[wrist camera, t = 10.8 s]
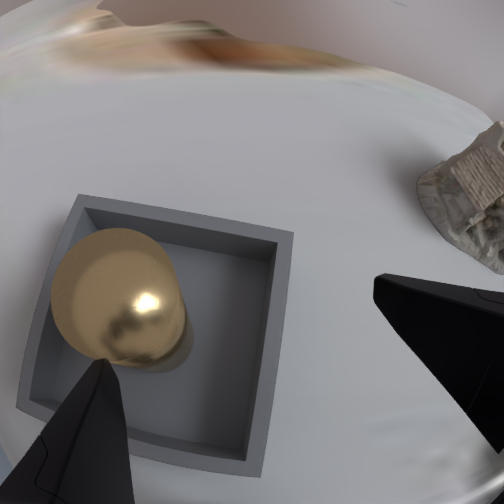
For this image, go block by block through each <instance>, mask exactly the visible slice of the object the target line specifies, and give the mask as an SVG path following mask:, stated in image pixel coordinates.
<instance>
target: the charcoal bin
mask: <svg viewBox="0 0 504 504" xmlns="http://www.w3.org/2000/svg"><path fill="white" fill-rule="evenodd" d="M111 228H125V229H131V230H135V231H138V232H141V233H143V234H145V235H147V236H149V237H150V238H152V239H153V240H154V241H156V242H157V243H158V244H159V245H160V246H161V247H162V248H163V249H164V251H165V252H166V253H167V255H168V256H169V258H170V260H171V262H172V264H173V267H174V269H175V273H176V276H177V279H178V283H179V286H180V289H181V293H182V296H183V299H184V302H185V306H186V309H187V312H188V315H189V318H190V321H191V324H192V328H193V333H194V342H193V347H192V350H191V353H190V354H189V356H188V358H187V359H186V360H185V362H184V363H183V364H181V365H180V366H179V367H177V368H176V369H174V370H171V371H169V372H164V373H153V372H148V371H143V370H138V369H134V368H129V367H125V366H120V365H116V364H112V363H110V364H111V366H112V368H113V370H114V372H115V373H116V375H117V377H118V380H119V383H120V389H121V396H122V402H123V408H124V414H125V420H126V426H127V438H128V450H129V454H132V455H136V456H139V457H143V458H147V459H151V460H155V461H159V462H163V463H167V464H172V465H176V466H181V467H186V468H191V469H197V470H203V471H209V472H215V473H222V474H230V475H238V476H247V477H258V478H260V477H261V471H262V466H263V460H264V454H265V448H266V442H267V436H268V430H269V424H270V417H271V411H272V405H273V398H274V391H275V384H276V377H277V370H278V363H279V356H280V348H281V341H282V333H283V325H284V317H285V309H286V300H287V292H288V283H289V274H290V265H291V256H292V246H293V236H294V232H290V231H285V230H280V229H275V228H270V227H265V226H260V225H254V224H249V223H244V222H239V221H234V220H228V219H223V218H218V217H212V216H207V215H201V214H196V213H190V212H185V211H179V210H173V209H168V208H162V207H156V206H150V205H144V204H138V203H132V202H126V201H120V200H114V199H108V198H102V197H95V196H89V195H82V194H78V196H77V198H76V200H75V202H74V204H73V207H72V209H71V211H70V214H69V216H68V218H67V221H66V223H65V225H64V228H63V230H62V233H61V235H60V238H59V240H58V243H57V246H56V248H55V251H54V254H53V256H52V259H51V262H50V265H49V268H48V271H47V274H46V277H45V280H44V283H43V286H42V289H41V292H40V296H39V299H38V303H37V306H36V310H35V313H34V317H33V321H32V325H31V329H30V333H29V337H28V341H27V346H26V350H25V355H24V360H23V365H22V371H21V376H20V382H19V389H18V395H17V403H16V408H17V409H19V410H21V411H23V412H25V413H27V414H29V415H31V416H33V417H35V418H37V419H39V420H42V421H44V422H46V423H48V422H49V420H50V419H51V417H52V416H53V415H54V413H55V412H56V410H57V409H58V408H59V406H60V405H61V403H62V402H63V401H64V399H65V398H66V397H67V395H68V394H69V393H70V391H71V390H72V389H73V387H74V386H75V385H76V383H77V382H78V381H79V379H80V378H81V377H82V375H83V374H84V373H85V371H86V370H87V369H88V367H89V366H90V365H91V363H92V362H93V361H94V360H96V359H93V358H90V357H88V356H85V355H83V354H82V353H80V352H78V351H77V350H76V349H74V348H73V347H72V346H71V345H70V344H69V343H68V342H67V341H66V340H65V339H64V337H63V336H62V335H61V333H60V331H59V329H58V328H57V326H56V323H55V320H54V318H53V313H52V309H51V288H52V282H53V279H54V275H55V273H56V270H57V268H58V266H59V264H60V262H61V260H62V259H63V257H64V256H65V255H66V253H67V252H68V251H69V250H70V249H71V248H72V247H73V246H74V245H75V244H76V243H77V242H79V241H80V240H82V239H83V238H85V237H86V236H88V235H90V234H92V233H95V232H97V231H101V230H104V229H111Z"/></svg>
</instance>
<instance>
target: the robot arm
mask: <svg viewBox="0 0 504 504" xmlns="http://www.w3.org/2000/svg"><path fill="white" fill-rule="evenodd" d="M373 299H374V302H375V304H376V306H377V307H378V308H379V310H380V311H381V312H382V314H383V315H384V316H385V318H386V319H387V320H388V322H389V323H390V325H391V326H392V327H393V329H394V330H395V331H396V333H397V334H398V335H399V336H400V337H401V338H402V340H403V341H404V342H405V343H406V344H407V345H408V346H409V347H410V349H411V350H412V351H413V352H414V353H415V354H416V355H417V357H418V358H419V359H420V360H421V361H422V362H423V363H424V365H425V366H426V367H427V368H428V369H429V370H430V371H431V373H432V374H433V375H434V376H435V377H436V378H437V380H438V381H439V382H440V383H441V384H442V385H443V387H444V388H445V389H446V390H447V391H448V393H449V394H450V395H451V396H452V397H453V399H454V400H455V401H456V402H457V403H458V405H459V406H460V407H461V408H462V410H463V411H464V412H465V413H466V415H467V416H468V417H469V418H470V420H471V421H472V422H473V423H474V425H475V426H476V427H477V428H478V430H479V431H480V432H481V433H482V435H483V436H484V437H485V439H486V440H487V441H488V442H489V444H490V445H491V446H492V448H493V449H494V450H495V451H496V452H497V453H498V454H500V453H501V452H502V451H503V450H504V292H496V291H489V290H482V289H476V288H473V289H472V288H470V287H464V286H458V285H452V284H446V283H440V282H435V281H429V280H423V279H417V278H411V277H405V276H399V275H393V274H387V273H384V274H381V275H379V276H376V277H375V279H374V291H373ZM0 504H135V501H134V494H133V487H132V479H131V470H130V461H129V450H128V438H127V426H126V420H125V414H124V408H123V402H122V396H121V389H120V383H119V380H118V377H117V375H116V373H115V372H114V370H113V368H112V366H111V364H110V362H109V360H108V359H107V358H101V359H96V360H94V361H93V362H92V363H91V365H90V366H89V367H88V369H87V370H86V371H85V373H84V374H83V375H82V377H81V378H80V379H79V381H78V382H77V383H76V385H75V386H74V387H73V389H72V390H71V391H70V393H69V394H68V395H67V397H66V398H65V399H64V401H63V402H62V403H61V405H60V406H59V408H58V409H57V410H56V412H55V413H54V415H53V416H52V417H51V419H50V420H49V422H48V423H47V424H46V426H45V427H44V429H43V430H42V431H41V433H40V435H39V436H38V437H37V439H36V440H35V441H34V443H33V444H32V446H31V447H30V449H29V450H28V451H27V453H26V454H25V455H24V457H23V458H22V459H21V461H20V462H19V463H18V464H17V466H16V467H15V468H14V469H13V471H12V472H11V473H10V474H9V476H8V477H7V478H6V479H5V481H4V482H3V483H2V485H1V486H0ZM487 504H504V487H503V488H502V489H501V490H500V491H499V492H498V493H497V494H496V495H495V496H494V497H493V498H492V499H491V500H490V501H489V502H488V503H487Z"/></svg>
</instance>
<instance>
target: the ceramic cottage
mask: <svg viewBox="0 0 504 504" xmlns="http://www.w3.org/2000/svg"><path fill="white" fill-rule="evenodd" d="M416 185H417V195H418V197H419V201H420V203H421V205H422V207H423V209H424V211H425V213H426V215H427V216H428V218H429V219H430V220H431V222H432V223H433V225H434V226H435V227H436V229H437V230H439V232H440V233H441V235H442V236H443V237H444V239H445V240H446V241H448V242H449V243H451V244H452V245H454V246H455V247H457V248H459V249H460V250H462V251H463V252H465V253H467V254H468V255H470V256H472V257H473V258H474V259H476V260H479V262H481V263H482V264H484V265H485V266H486V267H488V268H489V269H491V270H492V271H494V272H495V273H497V274H500V275H504V123H503V122H502V121H497V122H495V123H494V124H493V125H492V126H491V127H490V128H489V129H488V130H486V131H484V132H482V133H480V134H479V135H478V136H477V138H476V139H475V140H474V142H473V143H472V144H471V145H470V146H469V147H467V148H466V149H465V150H464V151H463V152H461V153H459V154H457V155H454V156H451V157H450V158H449V159H448V160H447V161H441V162H440V164H438V165H437V166H435V167H434V168H433V169H430V170H429V171H427V172H426V173H424V174H423V175H422V176H421V177H420V178H419V180H418V182H417V184H416Z"/></svg>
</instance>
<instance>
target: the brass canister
mask: <svg viewBox="0 0 504 504" xmlns="http://www.w3.org/2000/svg"><path fill="white" fill-rule="evenodd" d="M51 309H52V313H53V318H54V320H55V323H56V326H57V328H58V329H59V331H60V333H61V335H62V336H63V337H64V339H65V340H66V341H67V342H68V343H69V344H70V345H71V346H72V347H73V348H74V349H76V350H77V351H78V352H80V353H82V354H83V355H85V356H88V357H90V358H93V359H101V358H107V359H108V360H109V362H110V363H112V364H116V365H120V366H125V367H129V368H134V369H138V370H143V371H148V372H153V373H164V372H169V371H171V370H174V369H176V368H177V367H179V366H180V365H181V364H183V363H184V362H185V360H186V359H187V358H188V356H189V354H190V353H191V350H192V347H193V342H194V333H193V328H192V324H191V321H190V318H189V315H188V312H187V309H186V306H185V302H184V299H183V296H182V293H181V289H180V286H179V283H178V279H177V276H176V273H175V269H174V267H173V264H172V262H171V260H170V258H169V256H168V255H167V253H166V252H165V251H164V249H163V248H162V247H161V246H160V245H159V244H158V243H157V242H156V241H154V240H153V239H152V238H150V237H149V236H147V235H145V234H143V233H141V232H138V231H135V230H131V229H125V228H111V229H104V230H101V231H97V232H95V233H92V234H90V235H88V236H86V237H85V238H83V239H82V240H80V241H79V242H77V243H76V244H75V245H74V246H73V247H72V248H71V249H70V250H69V251H68V252H67V253H66V255H65V256H64V257H63V259H62V260H61V262H60V264H59V266H58V268H57V270H56V273H55V275H54V279H53V282H52V288H51Z"/></svg>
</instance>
